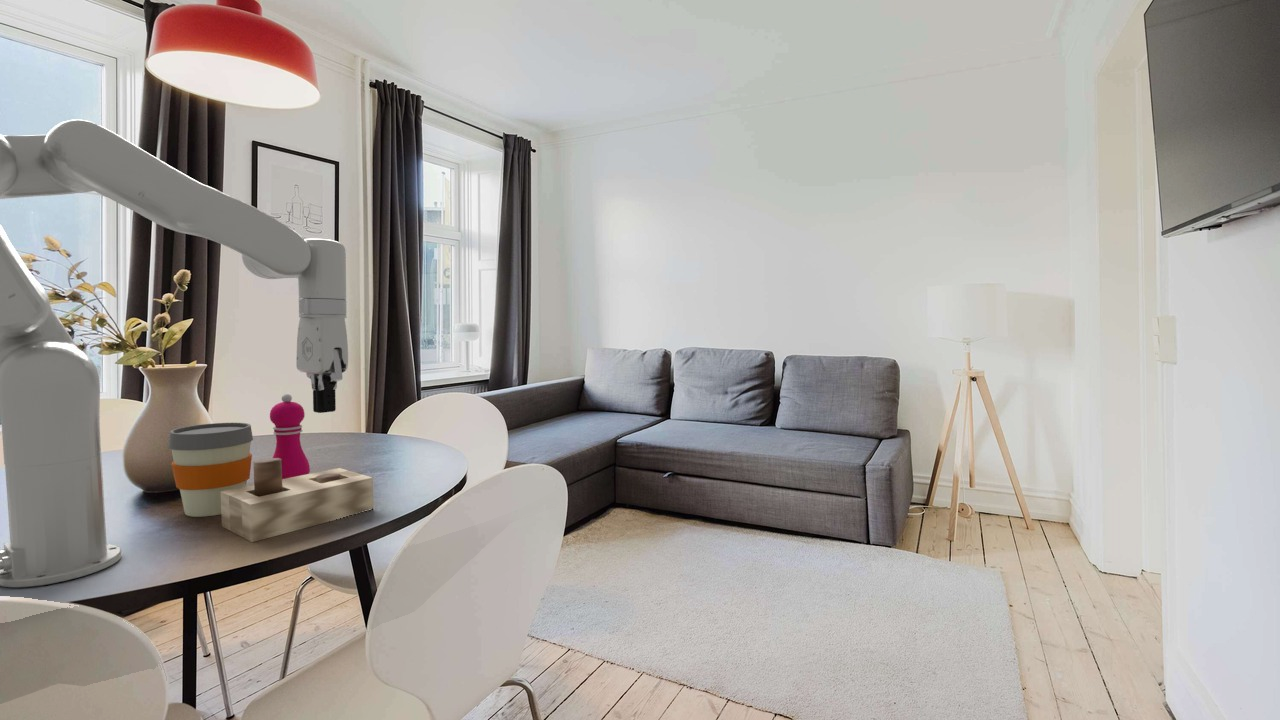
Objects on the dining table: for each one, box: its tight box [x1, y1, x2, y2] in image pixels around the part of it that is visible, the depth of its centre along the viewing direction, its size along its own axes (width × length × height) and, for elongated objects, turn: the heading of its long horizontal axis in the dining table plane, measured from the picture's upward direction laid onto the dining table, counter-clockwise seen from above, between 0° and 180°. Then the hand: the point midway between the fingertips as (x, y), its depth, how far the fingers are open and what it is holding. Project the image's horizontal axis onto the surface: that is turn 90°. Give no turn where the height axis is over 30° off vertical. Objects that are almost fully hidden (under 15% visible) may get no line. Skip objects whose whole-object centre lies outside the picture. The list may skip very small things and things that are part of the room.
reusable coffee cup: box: [168, 422, 254, 518], centre depth 109 cm, size 13×13×15 cm
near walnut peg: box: [252, 457, 283, 497], centre depth 100 cm, size 4×4×6 cm
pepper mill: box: [269, 393, 311, 479], centre depth 120 cm, size 7×7×20 cm
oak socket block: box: [220, 467, 374, 543], centre depth 105 cm, size 20×12×6 cm, turn 144°
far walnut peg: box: [316, 473, 341, 483], centre depth 109 cm, size 4×4×6 cm
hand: (324, 411), depth 107 cm, fingers closed
